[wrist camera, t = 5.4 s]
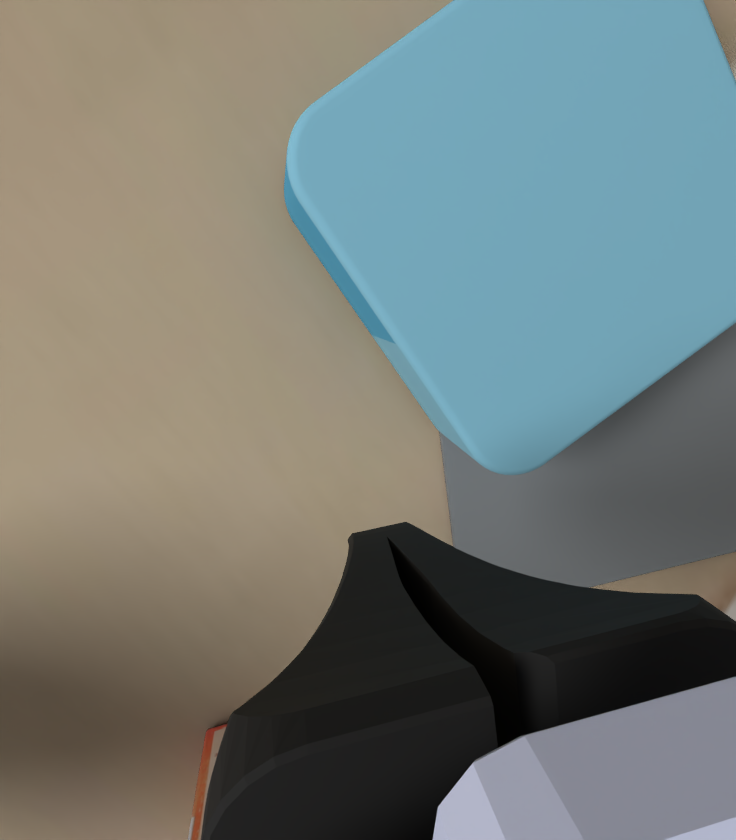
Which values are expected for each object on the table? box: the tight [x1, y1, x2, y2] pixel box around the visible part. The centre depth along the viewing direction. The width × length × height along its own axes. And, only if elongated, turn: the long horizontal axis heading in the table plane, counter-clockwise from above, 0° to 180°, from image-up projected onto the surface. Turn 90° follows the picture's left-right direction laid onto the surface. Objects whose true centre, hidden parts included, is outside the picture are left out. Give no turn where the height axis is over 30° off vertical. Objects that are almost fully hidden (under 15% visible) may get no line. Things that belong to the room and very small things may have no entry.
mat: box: [439, 323, 736, 588], centre depth 22 cm, size 18×16×1 cm
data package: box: [284, 0, 736, 475], centre depth 17 cm, size 12×4×12 cm
